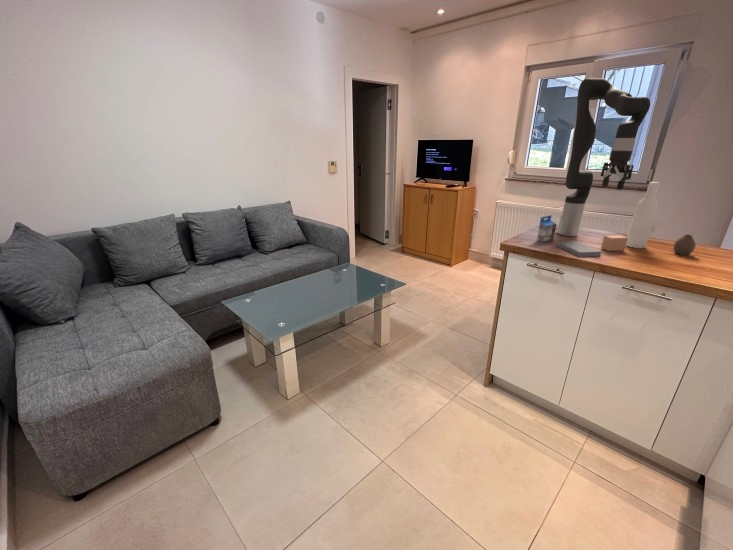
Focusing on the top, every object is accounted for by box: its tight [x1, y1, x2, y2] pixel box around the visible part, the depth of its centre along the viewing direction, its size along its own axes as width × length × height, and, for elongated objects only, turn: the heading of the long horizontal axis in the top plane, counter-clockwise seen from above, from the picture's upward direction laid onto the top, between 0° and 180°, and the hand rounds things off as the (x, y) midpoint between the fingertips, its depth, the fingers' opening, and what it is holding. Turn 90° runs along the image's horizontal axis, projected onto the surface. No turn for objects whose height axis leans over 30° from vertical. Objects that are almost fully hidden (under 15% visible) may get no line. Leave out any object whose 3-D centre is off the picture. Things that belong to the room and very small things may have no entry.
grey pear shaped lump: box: [673, 234, 696, 256], centre depth 148 cm, size 7×7×9 cm
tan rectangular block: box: [600, 234, 628, 252], centre depth 155 cm, size 4×8×6 cm, turn 95°
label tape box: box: [536, 214, 557, 243], centre depth 169 cm, size 9×4×12 cm, turn 120°
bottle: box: [626, 181, 661, 249], centre depth 155 cm, size 8×8×30 cm
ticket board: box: [556, 240, 602, 257], centre depth 155 cm, size 16×10×2 cm, turn 5°
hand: (611, 188), depth 149 cm, fingers open, 8 cm apart
